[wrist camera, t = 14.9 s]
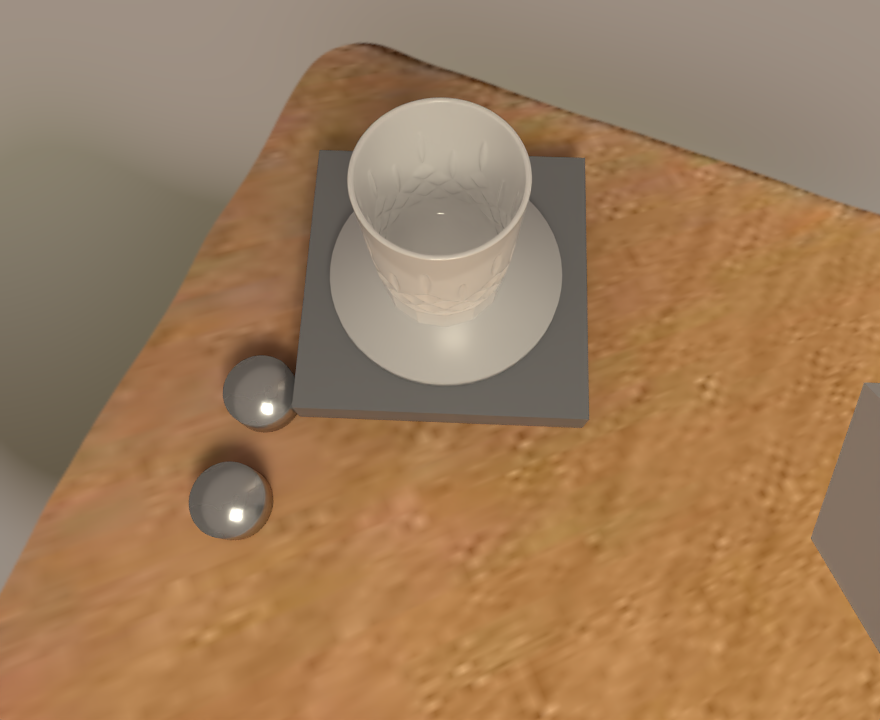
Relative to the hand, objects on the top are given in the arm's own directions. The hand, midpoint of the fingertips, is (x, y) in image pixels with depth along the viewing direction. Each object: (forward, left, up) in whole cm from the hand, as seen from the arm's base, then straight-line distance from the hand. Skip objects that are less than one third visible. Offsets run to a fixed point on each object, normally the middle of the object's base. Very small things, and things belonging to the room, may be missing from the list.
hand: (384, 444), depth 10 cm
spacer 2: (+11, -2, -30) cm, 32 cm away
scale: (0, -15, -30) cm, 33 cm away
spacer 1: (+10, -8, -30) cm, 32 cm away
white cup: (0, -15, -27) cm, 31 cm away
